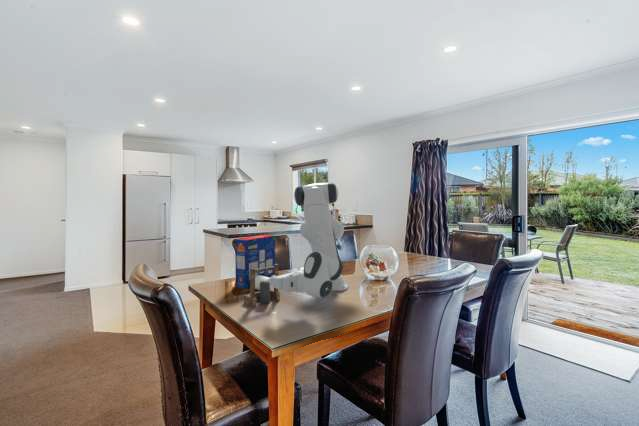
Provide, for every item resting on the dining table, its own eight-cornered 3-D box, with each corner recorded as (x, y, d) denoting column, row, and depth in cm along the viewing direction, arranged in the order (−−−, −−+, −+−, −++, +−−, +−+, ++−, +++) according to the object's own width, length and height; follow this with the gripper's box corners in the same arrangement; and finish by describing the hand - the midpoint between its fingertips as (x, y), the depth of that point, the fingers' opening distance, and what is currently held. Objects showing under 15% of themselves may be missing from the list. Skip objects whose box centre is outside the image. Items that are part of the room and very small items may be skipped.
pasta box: (265, 277, 209) (265, 234, 207) (275, 278, 205) (275, 235, 204) (235, 287, 184) (235, 239, 182) (246, 289, 180) (246, 240, 179)
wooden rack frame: (279, 299, 161) (279, 264, 161) (253, 307, 150) (253, 269, 149) (269, 296, 167) (269, 262, 166) (244, 303, 156) (243, 266, 155)
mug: (264, 294, 171) (264, 279, 171) (252, 290, 177) (252, 276, 177) (280, 289, 180) (280, 275, 180) (269, 286, 187) (269, 272, 186)
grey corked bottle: (271, 301, 159) (271, 280, 158) (266, 304, 154) (266, 282, 153) (263, 300, 160) (263, 279, 160) (257, 303, 156) (257, 281, 155)
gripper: (317, 269, 146) (297, 264, 156) (282, 278, 131) (262, 272, 141) (317, 283, 147) (297, 277, 156) (282, 293, 132) (262, 286, 142)
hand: (280, 275), depth 149 cm, fingers open, 8 cm apart
